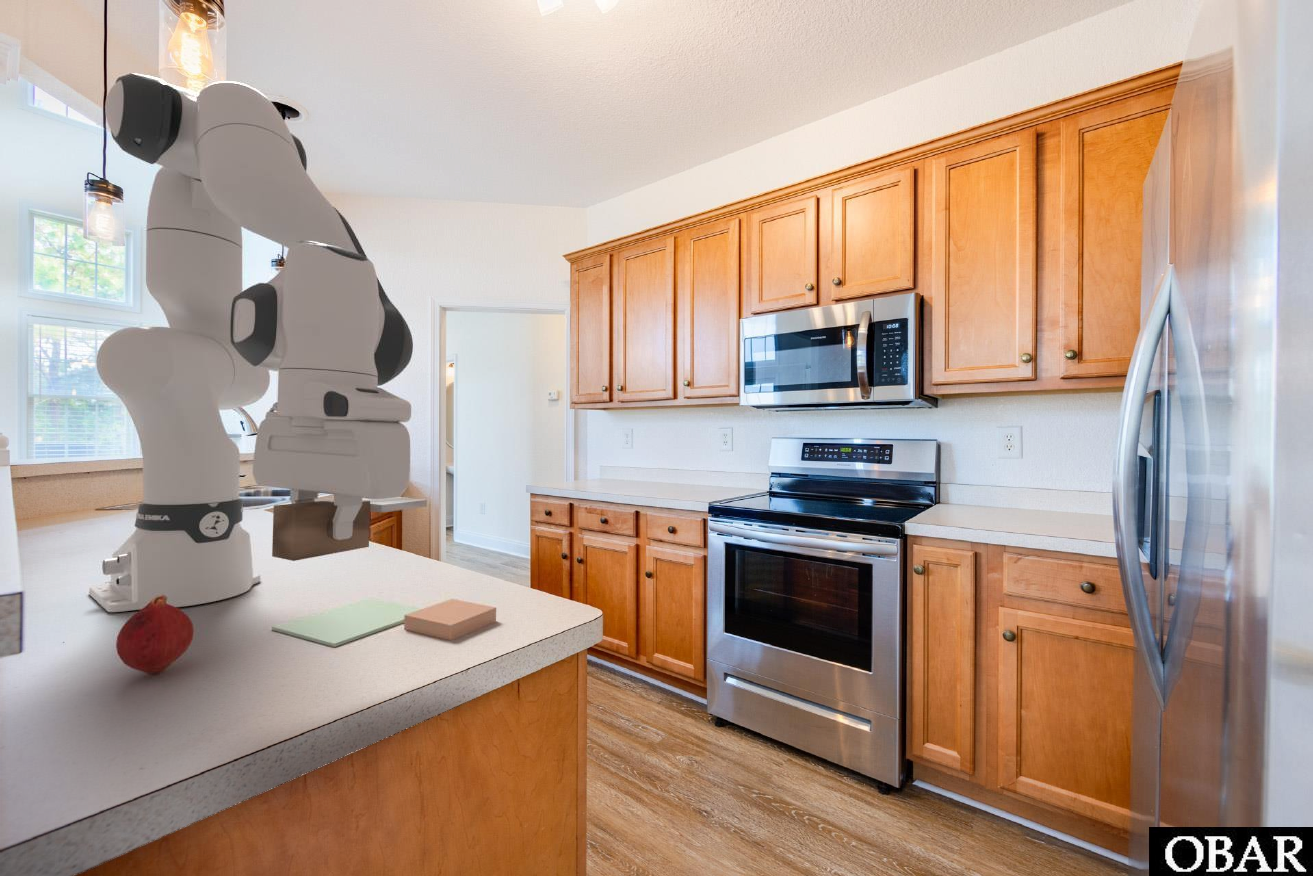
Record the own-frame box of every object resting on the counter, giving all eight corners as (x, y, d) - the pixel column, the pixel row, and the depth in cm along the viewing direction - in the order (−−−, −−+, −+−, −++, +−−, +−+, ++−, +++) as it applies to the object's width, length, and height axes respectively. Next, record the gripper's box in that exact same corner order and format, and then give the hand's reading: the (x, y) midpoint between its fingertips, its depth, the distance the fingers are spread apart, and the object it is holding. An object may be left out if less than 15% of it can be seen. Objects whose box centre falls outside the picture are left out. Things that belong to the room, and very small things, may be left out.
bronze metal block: (261, 554, 55) (262, 503, 55) (384, 533, 68) (385, 492, 68) (305, 563, 52) (307, 510, 52) (425, 540, 65) (426, 497, 65)
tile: (404, 615, 71) (452, 598, 78) (404, 631, 71) (451, 613, 78) (450, 625, 68) (496, 607, 75) (450, 642, 68) (495, 623, 75)
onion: (146, 689, 53) (147, 606, 53) (99, 683, 55) (100, 602, 54) (206, 665, 59) (207, 590, 59) (163, 660, 60) (164, 586, 60)
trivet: (271, 629, 70) (271, 626, 70) (371, 600, 82) (371, 597, 82) (334, 647, 65) (334, 643, 65) (430, 613, 77) (430, 610, 77)
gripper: (237, 399, 59) (232, 529, 59) (367, 400, 50) (361, 553, 50) (297, 403, 65) (293, 521, 65) (423, 405, 56) (418, 542, 56)
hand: (324, 535), depth 57 cm, fingers closed on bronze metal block, 3 cm apart
